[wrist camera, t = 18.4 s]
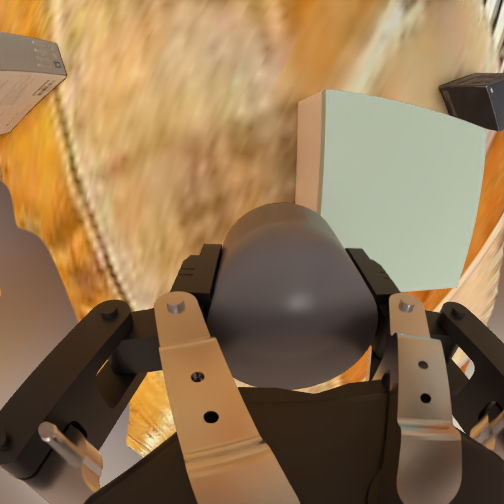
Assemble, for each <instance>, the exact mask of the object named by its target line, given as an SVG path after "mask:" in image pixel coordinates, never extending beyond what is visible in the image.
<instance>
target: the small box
mask: <svg viewBox="0 0 504 504" xmlns="http://www.w3.org/2000/svg"><path fill="white" fill-rule="evenodd" d="M439 88H440V91H441V93H442V95H443V98H444V101H445V103H446V106H447V109H448V111H449V115H450V116H452V117H455V118H458V119H461V120H464V121H467V122H469V123H472V124H475V125H477V126H480V127H482V128H485V129H490V130H495V131H499V132H500V131H502V130H503V129H504V73H475V74H471V75H469V76H465V77H463V78H460V79H457V80H454V81H451V82H449V83H446V84H444V85H441V86H439Z"/></svg>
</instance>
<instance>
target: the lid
mask: <svg viewBox="0 0 504 504" xmlns="http://www.w3.org/2000/svg"><path fill="white" fill-rule="evenodd" d="M486 133H487V129H485V128H482V127H480V126H477V125H475V124H472V123H469V122H467V121H464V120H461V119H458V118H455V117H452V116H449V115H446V114H443V113H440V112H437V111H433V110H430V109H426V108H423V107H419V106H415V105H411V104H407V103H403V102H399V101H395V100H390V99H386V98H381V97H376V96H370V95H365V94H359V93H352V92H346V91H338V90H330V89H325V90H323V107H322V148H321V170H320V188H319V203H318V214H319V215H320V216H321V217H322V218H323V219H324V220H325V221H326V222H327V223H328V224H329V226H330V227H331V229H332V230H333V232H334V233H335V235H336V236H337V238H338V239H339V241H340V243H341V244H342V246H343V247H344V249H345V248H362V249H363V250H364V251H365V253H366V254H367V255H368V257H369V258H370V259H372V260H374V261H376V262H377V263H378V264H380V265H381V266H382V267H383V268H384V270H385V271H386V273H387V274H388V275H389V277H390V279H392V281H393V282H394V283H395V285H396V286H397V288H398V289H399V290H400V292H406V291H420V290H432V289H444V288H455V287H457V285H458V282H459V279H460V276H461V273H462V270H463V267H464V263H465V260H466V257H467V253H468V249H469V246H470V242H471V238H472V234H473V229H474V225H475V220H476V215H477V210H478V205H479V199H480V193H481V187H482V180H483V172H484V162H485V151H486Z"/></svg>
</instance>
